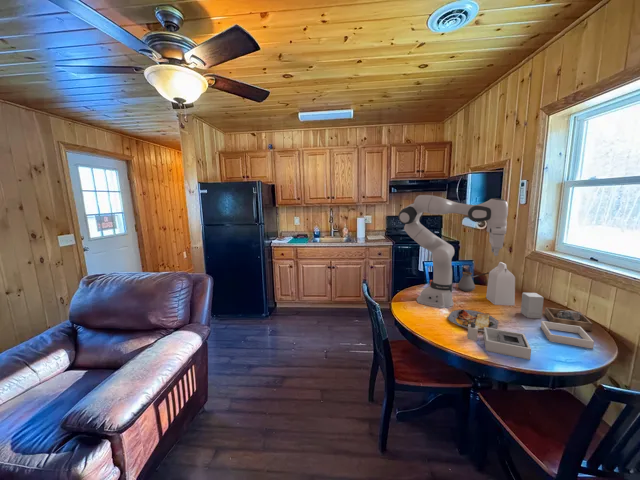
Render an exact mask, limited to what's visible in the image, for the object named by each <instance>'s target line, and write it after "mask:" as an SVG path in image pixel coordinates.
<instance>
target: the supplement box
mask: <svg viewBox="0 0 640 480" xmlns="http://www.w3.org/2000/svg"><path fill="white" fill-rule="evenodd" d="M544 299H545V298H544V296H542V295H540V294H538V293H537V292H522V294H521V305H520V313H521V315H523V316H525V317H526V318H528V319H542V318H543V307H544Z"/></svg>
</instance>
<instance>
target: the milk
mask: <svg viewBox="0 0 640 480" xmlns="http://www.w3.org/2000/svg"><path fill="white" fill-rule="evenodd" d="M485 298H486V299H487V300H488V301H490V302H491V303H492V304H493V305H494V306H516V305H515V304H516V301H515V300H516V299H515V298H516V276H515V275H514V274H513V273H512V272H511V271H510V270H509V269H508V267H507V263H504V262H502V261H499V262H498V264H497V266H495V267H494V268H493V269H491V270H490V271H489V274H488V279H487V288H486V296H485Z"/></svg>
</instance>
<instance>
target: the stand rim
mask: <svg viewBox="0 0 640 480" xmlns="http://www.w3.org/2000/svg"><path fill="white" fill-rule="evenodd" d="M559 311H571V310H568V309H562V308H553V307H544V315H545V317H546V318H547V320H548V322H553V323H560V324H567V325H574V326H580V327H581V328H582V329H583V330H584V331H589V332H592V330H593V323H592V322H591V321H590V320H589V319H588V318H587V317H586V316H585V315H584V314H583V312H581V311H577V310H572V311H573V312H578V313H581V315H582V316H581V317H580V318H581V320H580V321H574V320H567V319H560V318H558V317H557V315H556V314H558V313H559Z"/></svg>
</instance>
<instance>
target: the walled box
mask: <svg viewBox="0 0 640 480" xmlns="http://www.w3.org/2000/svg"><path fill="white" fill-rule="evenodd" d="M498 332H499V333H505V334H510V335H516V336H521V337H522V339H523V342H524V344H525V347H522V346H516V345H511V344H506V343H500V342H498V341H497V337H498ZM483 341H484V348H485V352H489V353H494V354H498V355H499V354H500V355H504V356H509V357H514V358H517V359H523V360H529V361H531V356H532V348H531V345H530V343H529V342H528V339H527V337H526V335H525V333H521V332H516V331H510V330H505V329H504V330H503V329H499V328H497V329H493V328H487V327H484V331H483Z"/></svg>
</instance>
